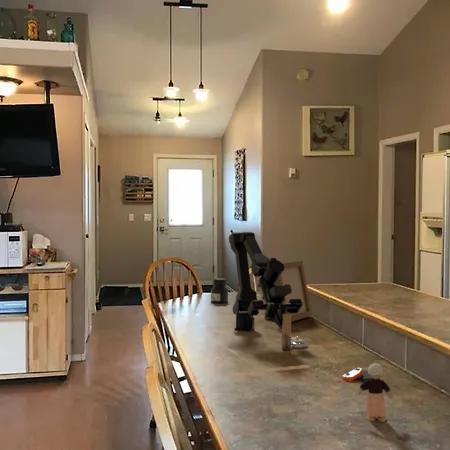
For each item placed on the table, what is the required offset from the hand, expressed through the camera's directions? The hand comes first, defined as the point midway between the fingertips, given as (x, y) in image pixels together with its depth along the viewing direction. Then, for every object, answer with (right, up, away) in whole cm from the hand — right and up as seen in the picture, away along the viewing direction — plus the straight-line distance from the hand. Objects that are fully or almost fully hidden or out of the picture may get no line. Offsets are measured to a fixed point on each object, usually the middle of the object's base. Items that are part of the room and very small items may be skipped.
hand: (282, 327), depth 176 cm
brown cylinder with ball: (+4, -7, +2) cm, 8 cm away
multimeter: (+15, -10, -30) cm, 35 cm away
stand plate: (+5, -8, +3) cm, 10 cm away
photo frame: (+7, -7, +54) cm, 55 cm away
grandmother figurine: (+15, -10, -57) cm, 60 cm away
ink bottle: (-22, -6, +95) cm, 98 cm away
